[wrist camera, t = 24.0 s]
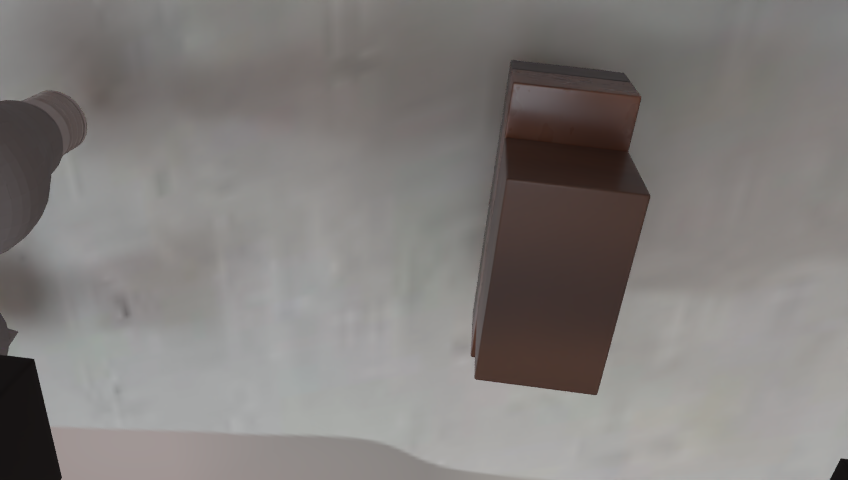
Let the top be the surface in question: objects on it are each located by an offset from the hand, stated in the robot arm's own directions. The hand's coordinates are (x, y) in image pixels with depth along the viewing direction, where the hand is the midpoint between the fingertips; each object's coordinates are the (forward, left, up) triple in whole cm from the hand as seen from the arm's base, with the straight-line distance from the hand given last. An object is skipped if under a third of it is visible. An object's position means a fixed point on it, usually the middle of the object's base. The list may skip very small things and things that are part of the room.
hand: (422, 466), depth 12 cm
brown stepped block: (+3, +4, -19) cm, 20 cm away
